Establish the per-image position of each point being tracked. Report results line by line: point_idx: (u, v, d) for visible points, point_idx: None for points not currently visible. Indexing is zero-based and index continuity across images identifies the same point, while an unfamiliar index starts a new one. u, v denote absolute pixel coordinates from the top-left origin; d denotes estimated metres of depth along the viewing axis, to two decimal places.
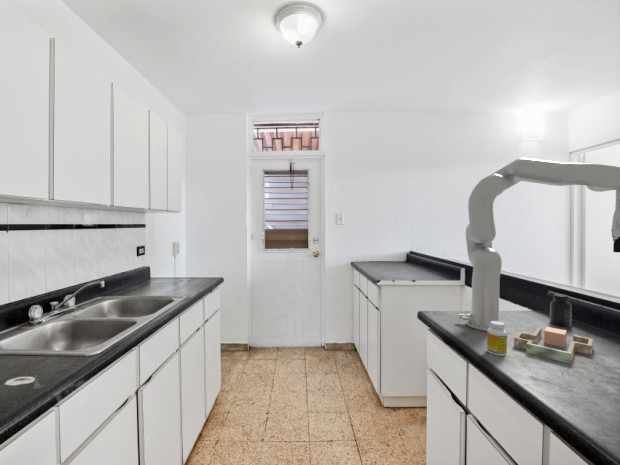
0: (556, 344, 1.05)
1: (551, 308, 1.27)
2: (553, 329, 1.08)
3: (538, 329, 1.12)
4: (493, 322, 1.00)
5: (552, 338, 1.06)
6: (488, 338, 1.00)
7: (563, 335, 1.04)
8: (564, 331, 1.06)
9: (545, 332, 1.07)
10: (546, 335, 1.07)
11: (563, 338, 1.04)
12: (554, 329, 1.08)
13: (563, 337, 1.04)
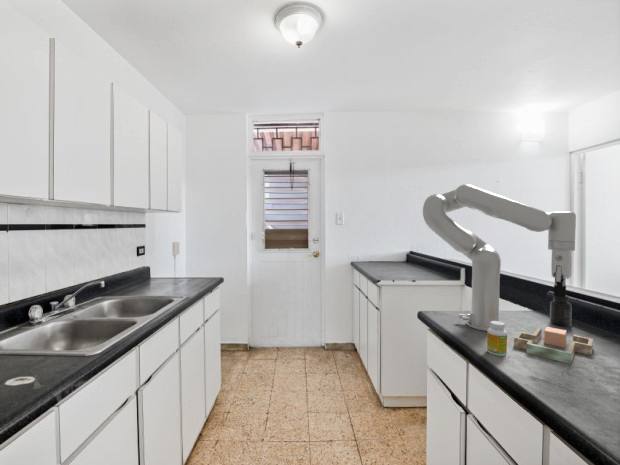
0: (556, 344, 1.05)
1: (551, 308, 1.27)
2: (553, 329, 1.08)
3: (538, 329, 1.12)
4: (493, 322, 1.00)
5: (552, 338, 1.06)
6: (488, 338, 1.00)
7: (563, 335, 1.04)
8: (564, 331, 1.06)
9: (545, 332, 1.07)
10: (546, 335, 1.07)
11: (563, 338, 1.04)
12: (554, 329, 1.08)
13: (563, 337, 1.04)
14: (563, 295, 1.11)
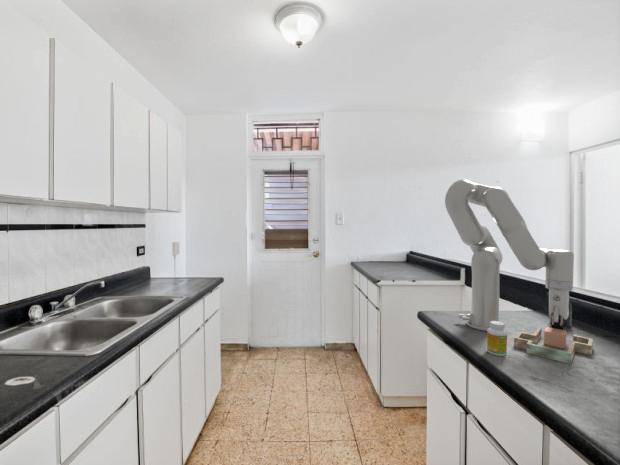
0: (556, 345, 1.04)
1: None
2: (553, 329, 1.08)
3: (538, 329, 1.12)
4: (493, 322, 1.00)
5: (552, 338, 1.05)
6: (488, 338, 1.00)
7: (563, 335, 1.03)
8: (564, 331, 1.06)
9: (545, 332, 1.06)
10: (546, 336, 1.06)
11: (563, 338, 1.03)
12: (554, 329, 1.08)
13: (563, 337, 1.03)
14: None
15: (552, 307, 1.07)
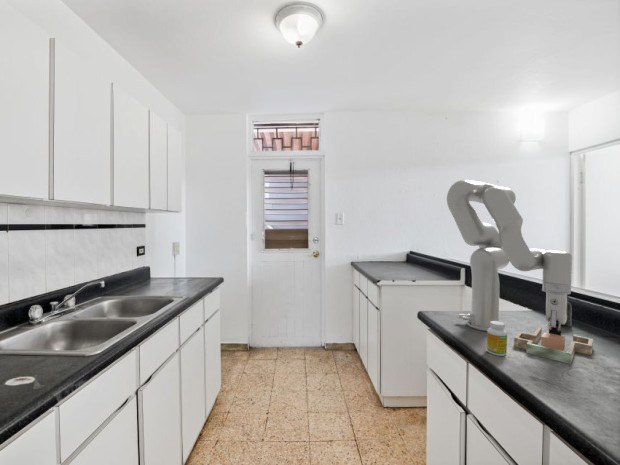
0: None
1: None
2: (550, 335, 1.03)
3: (538, 329, 1.12)
4: (493, 322, 1.00)
5: (550, 344, 1.00)
6: (488, 338, 1.00)
7: (561, 341, 0.98)
8: (562, 337, 1.01)
9: (542, 338, 1.01)
10: (543, 341, 1.01)
11: (561, 345, 0.98)
12: (552, 335, 1.03)
13: (561, 344, 0.98)
14: None
15: (549, 311, 1.02)
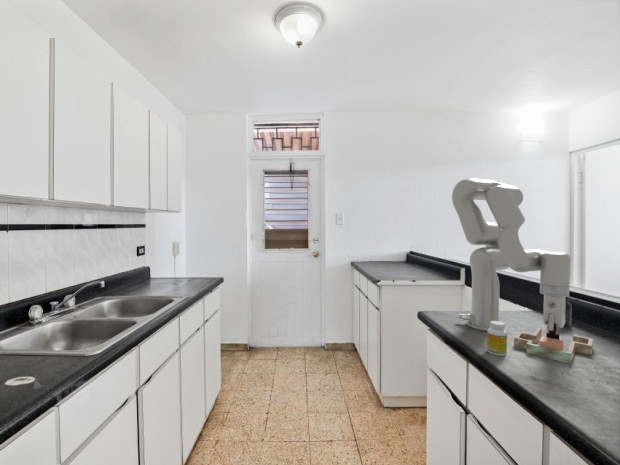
0: None
1: None
2: (548, 339, 0.99)
3: (538, 329, 1.12)
4: (493, 322, 1.00)
5: None
6: (488, 338, 1.00)
7: (559, 346, 0.95)
8: (560, 341, 0.97)
9: (540, 342, 0.98)
10: None
11: (559, 349, 0.95)
12: (550, 339, 0.99)
13: (559, 348, 0.95)
14: None
15: (547, 314, 0.99)
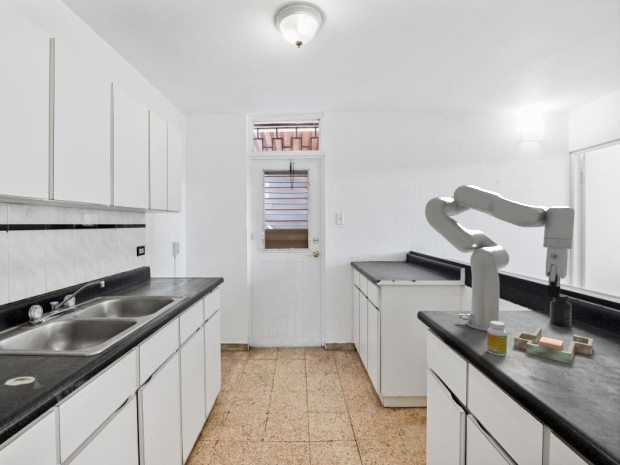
0: None
1: (551, 308, 1.27)
2: (548, 339, 0.99)
3: (538, 329, 1.12)
4: (493, 322, 1.00)
5: None
6: (488, 338, 1.00)
7: (559, 346, 0.94)
8: (560, 342, 0.97)
9: (540, 343, 0.98)
10: None
11: None
12: (550, 339, 0.99)
13: (559, 349, 0.94)
14: (557, 296, 1.04)
15: (549, 266, 1.02)
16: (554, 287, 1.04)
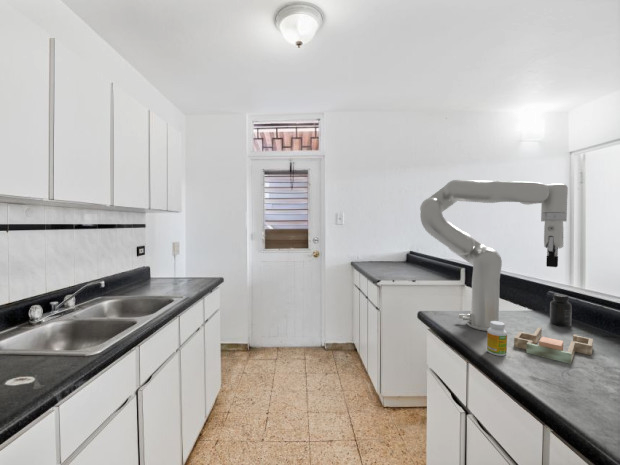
0: None
1: (551, 308, 1.27)
2: (548, 339, 0.99)
3: (538, 329, 1.12)
4: (493, 322, 1.00)
5: None
6: (488, 338, 1.00)
7: (559, 347, 0.94)
8: (560, 342, 0.97)
9: (540, 343, 0.98)
10: None
11: None
12: (550, 339, 0.99)
13: (559, 349, 0.94)
14: (555, 265, 1.15)
15: (547, 237, 1.13)
16: (552, 257, 1.15)
